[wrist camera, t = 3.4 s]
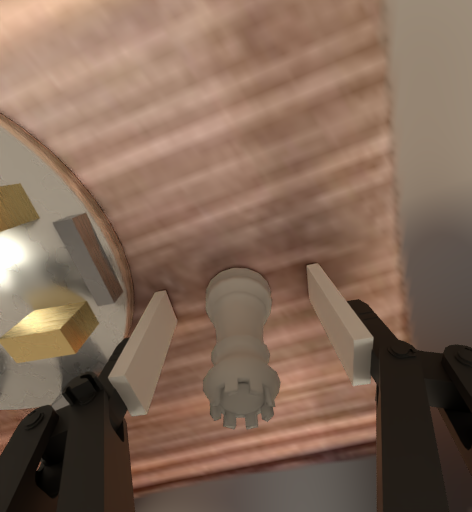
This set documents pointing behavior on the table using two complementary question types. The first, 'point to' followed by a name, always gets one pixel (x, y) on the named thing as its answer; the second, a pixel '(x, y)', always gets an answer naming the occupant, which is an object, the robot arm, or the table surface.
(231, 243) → the table surface
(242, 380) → the rook chess piece
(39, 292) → the carrier plate
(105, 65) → the table surface
